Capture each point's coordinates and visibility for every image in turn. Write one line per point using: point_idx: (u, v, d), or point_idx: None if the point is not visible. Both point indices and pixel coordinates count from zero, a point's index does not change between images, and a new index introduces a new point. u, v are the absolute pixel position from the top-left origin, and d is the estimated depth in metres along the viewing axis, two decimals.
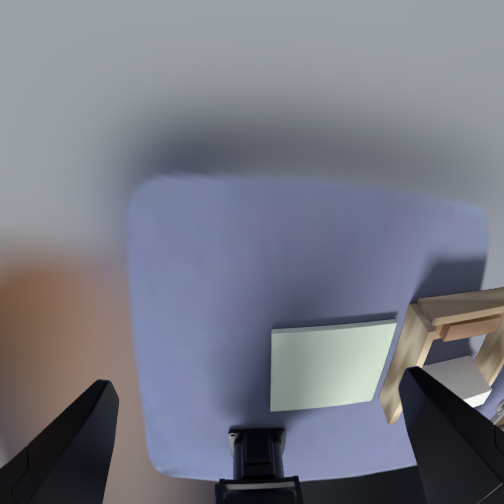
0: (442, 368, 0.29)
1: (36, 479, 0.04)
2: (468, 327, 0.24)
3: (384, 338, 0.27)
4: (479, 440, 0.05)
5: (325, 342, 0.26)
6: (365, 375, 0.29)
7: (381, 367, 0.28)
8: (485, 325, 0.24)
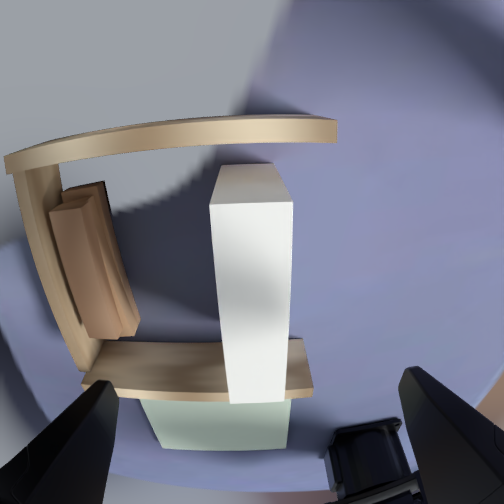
0: None
1: (36, 479, 0.04)
2: (82, 299, 0.14)
3: None
4: (478, 440, 0.05)
5: (165, 422, 0.22)
6: None
7: None
8: (70, 255, 0.13)
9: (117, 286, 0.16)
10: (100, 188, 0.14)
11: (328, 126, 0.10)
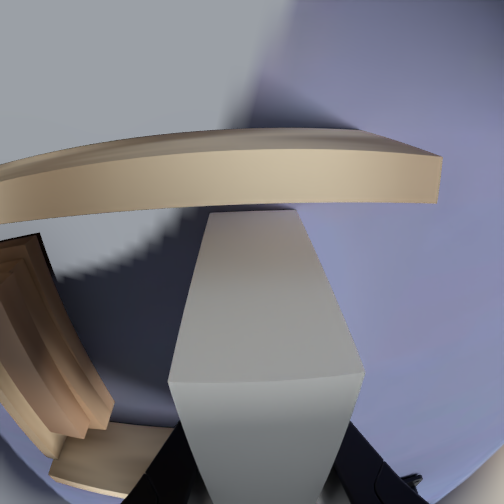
0: None
1: None
2: (30, 395, 0.09)
3: None
4: (358, 477, 0.05)
5: None
6: None
7: None
8: (1, 346, 0.08)
9: (74, 376, 0.10)
10: (32, 246, 0.09)
11: (426, 169, 0.04)
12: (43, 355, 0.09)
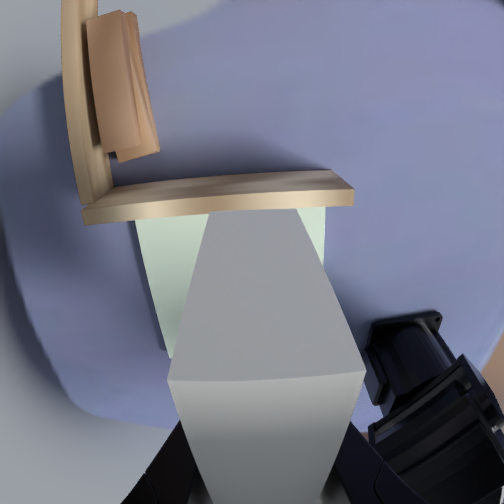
0: None
1: None
2: (104, 102, 0.13)
3: (164, 230, 0.18)
4: (358, 477, 0.05)
5: (174, 309, 0.21)
6: None
7: None
8: (100, 54, 0.12)
9: (141, 97, 0.14)
10: (133, 16, 0.13)
11: None
12: (129, 64, 0.13)
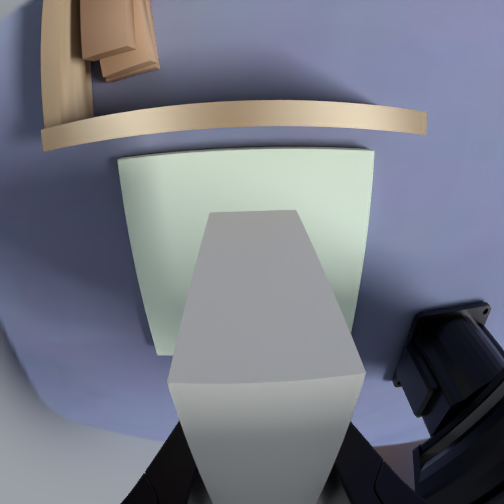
0: None
1: None
2: None
3: (155, 174, 0.13)
4: (358, 477, 0.05)
5: (165, 288, 0.15)
6: (270, 188, 0.13)
7: (248, 153, 0.13)
8: None
9: None
10: None
11: None
12: None
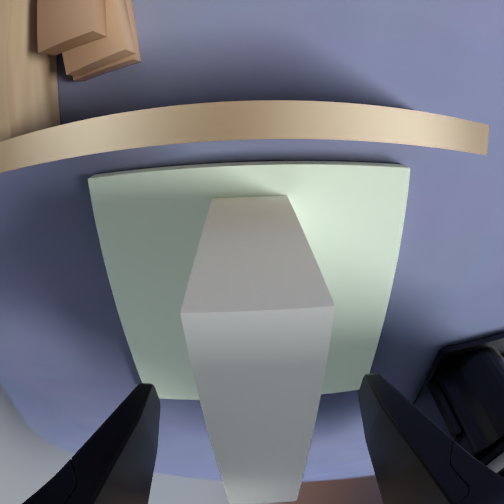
0: None
1: (87, 495, 0.04)
2: None
3: (134, 197, 0.10)
4: (433, 457, 0.05)
5: (153, 330, 0.13)
6: None
7: (253, 170, 0.10)
8: None
9: None
10: None
11: None
12: None
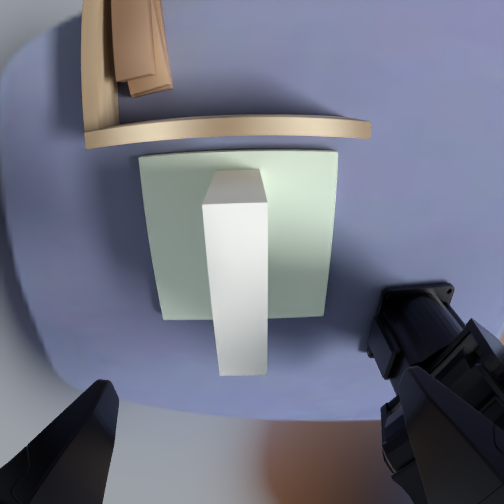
0: None
1: (37, 479, 0.04)
2: (122, 32, 0.12)
3: (168, 169, 0.17)
4: (479, 440, 0.05)
5: (172, 260, 0.19)
6: None
7: (239, 154, 0.17)
8: None
9: (158, 32, 0.13)
10: None
11: None
12: (149, 1, 0.12)
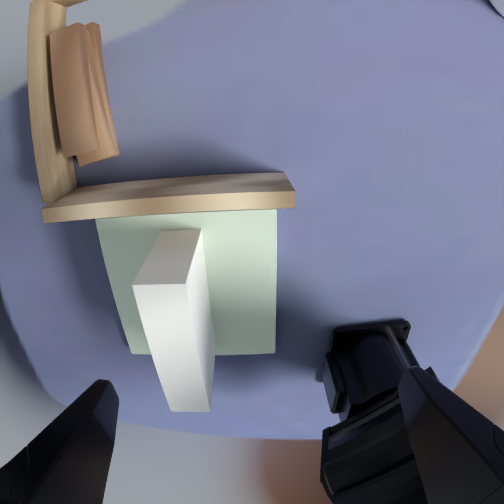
0: None
1: (36, 479, 0.04)
2: (63, 110, 0.13)
3: (121, 229, 0.18)
4: (479, 440, 0.05)
5: (134, 306, 0.21)
6: None
7: (182, 216, 0.18)
8: (61, 65, 0.12)
9: (99, 104, 0.14)
10: (95, 27, 0.13)
11: None
12: (86, 74, 0.13)
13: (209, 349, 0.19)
